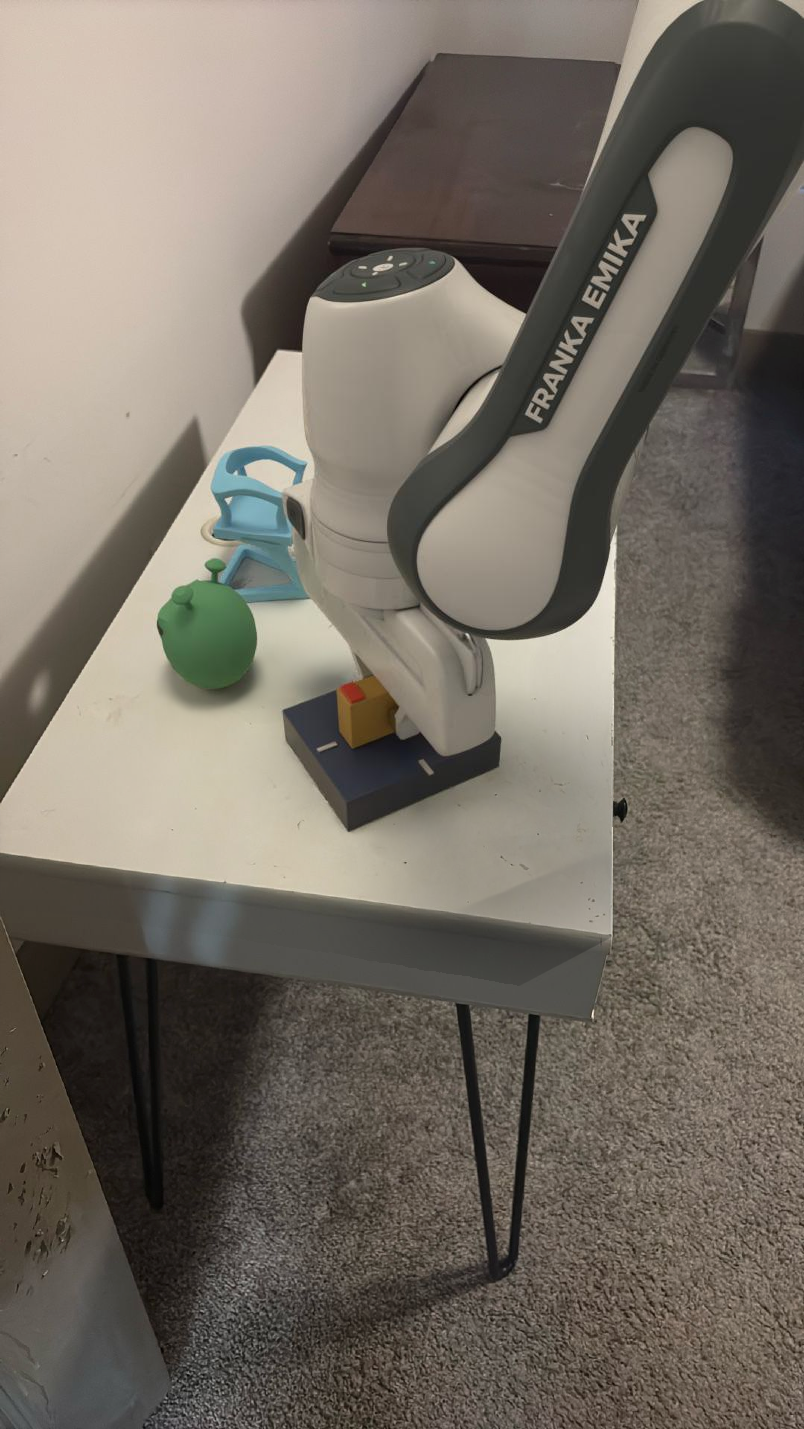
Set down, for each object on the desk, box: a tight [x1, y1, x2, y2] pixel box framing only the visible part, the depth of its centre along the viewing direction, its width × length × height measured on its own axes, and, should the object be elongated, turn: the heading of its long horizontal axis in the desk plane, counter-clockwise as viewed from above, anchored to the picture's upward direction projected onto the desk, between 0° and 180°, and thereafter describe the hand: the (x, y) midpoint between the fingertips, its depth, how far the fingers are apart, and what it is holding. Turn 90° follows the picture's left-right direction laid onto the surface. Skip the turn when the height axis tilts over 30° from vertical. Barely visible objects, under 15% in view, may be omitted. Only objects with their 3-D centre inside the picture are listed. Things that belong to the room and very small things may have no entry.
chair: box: [210, 445, 311, 603], centre depth 82 cm, size 8×8×12 cm
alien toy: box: [156, 557, 258, 690], centre depth 74 cm, size 7×8×10 cm
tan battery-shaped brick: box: [336, 675, 398, 749], centre depth 68 cm, size 7×2×4 cm, turn 119°
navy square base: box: [281, 674, 503, 832], centre depth 70 cm, size 12×11×3 cm
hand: (390, 711), depth 69 cm, fingers open, 3 cm apart
